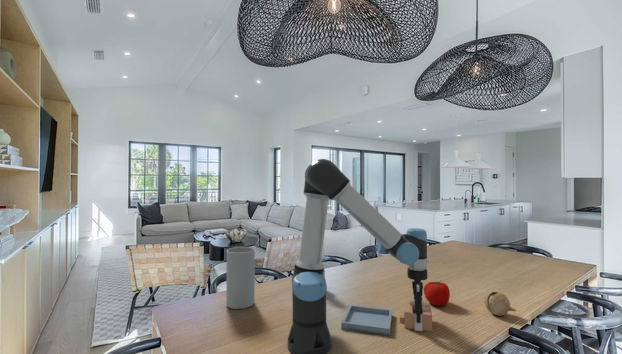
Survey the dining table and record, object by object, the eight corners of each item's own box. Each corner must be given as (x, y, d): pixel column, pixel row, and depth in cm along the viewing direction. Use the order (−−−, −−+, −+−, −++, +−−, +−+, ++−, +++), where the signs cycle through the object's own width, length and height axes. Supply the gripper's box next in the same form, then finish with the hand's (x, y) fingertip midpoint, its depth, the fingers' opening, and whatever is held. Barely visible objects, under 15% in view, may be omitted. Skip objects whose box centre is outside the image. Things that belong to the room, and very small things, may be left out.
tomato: (451, 301, 146) (451, 279, 146) (448, 311, 135) (447, 287, 135) (426, 297, 152) (426, 275, 152) (421, 306, 141) (420, 283, 141)
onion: (489, 288, 140) (518, 290, 126) (496, 309, 138) (527, 314, 124) (473, 293, 137) (501, 297, 123) (480, 316, 135) (510, 321, 121)
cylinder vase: (226, 311, 135) (226, 253, 136) (226, 300, 147) (226, 247, 148) (255, 308, 138) (255, 251, 139) (253, 298, 151) (253, 246, 151)
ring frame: (432, 331, 117) (432, 315, 117) (399, 327, 120) (399, 311, 120) (430, 320, 126) (430, 305, 126) (400, 316, 130) (399, 301, 130)
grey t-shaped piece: (425, 326, 121) (425, 304, 121) (409, 324, 123) (409, 302, 123) (425, 323, 123) (425, 301, 124) (409, 321, 125) (409, 300, 125)
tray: (389, 335, 114) (389, 328, 114) (341, 328, 119) (341, 322, 119) (392, 315, 131) (392, 309, 131) (349, 310, 136) (349, 304, 136)
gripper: (429, 277, 111) (430, 339, 110) (425, 261, 134) (426, 312, 133) (407, 276, 113) (408, 336, 113) (407, 260, 136) (407, 310, 136)
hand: (417, 323), depth 123 cm, fingers open, 12 cm apart
